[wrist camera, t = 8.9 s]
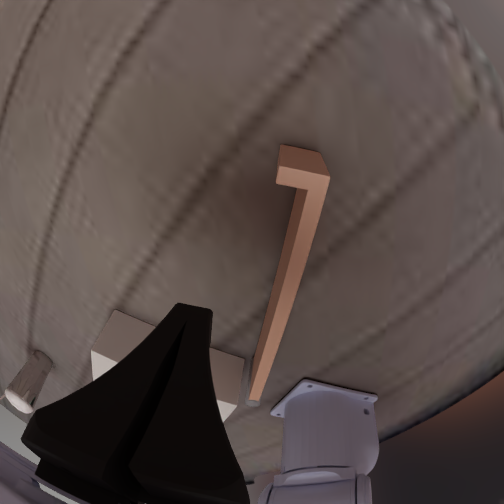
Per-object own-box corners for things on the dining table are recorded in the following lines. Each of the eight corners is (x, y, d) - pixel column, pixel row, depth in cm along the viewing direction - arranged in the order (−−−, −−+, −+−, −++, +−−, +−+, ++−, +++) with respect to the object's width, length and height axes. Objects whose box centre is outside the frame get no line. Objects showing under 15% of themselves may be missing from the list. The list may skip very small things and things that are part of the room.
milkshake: (24, 340, 32) (-10, 392, 23) (52, 355, 32) (19, 412, 24) (32, 358, 34) (2, 408, 26) (59, 372, 35) (31, 426, 26)
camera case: (244, 359, 27) (236, 413, 22) (214, 403, 32) (204, 447, 27) (115, 309, 25) (87, 357, 20) (111, 364, 30) (92, 405, 25)
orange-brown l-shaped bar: (262, 366, 26) (258, 407, 23) (236, 361, 26) (229, 402, 23) (323, 153, 16) (335, 177, 12) (280, 144, 16) (279, 165, 12)
